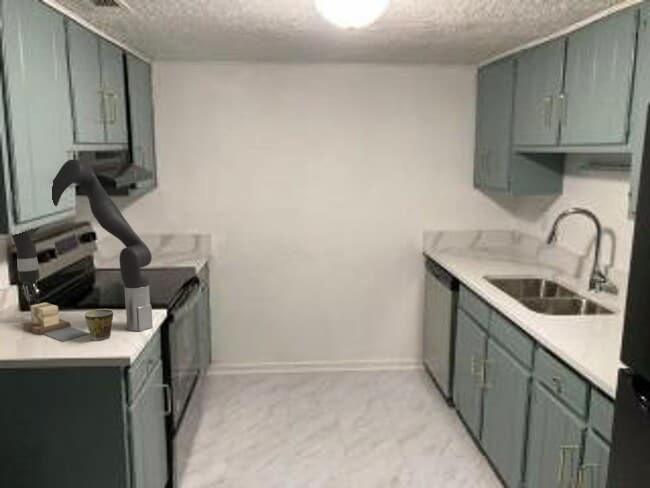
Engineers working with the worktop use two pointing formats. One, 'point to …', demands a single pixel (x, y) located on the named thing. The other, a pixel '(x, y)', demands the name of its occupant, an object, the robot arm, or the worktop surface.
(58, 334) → the mat
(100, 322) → the ceramic cup
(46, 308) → the block
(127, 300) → the robot arm
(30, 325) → the brown flat slab
